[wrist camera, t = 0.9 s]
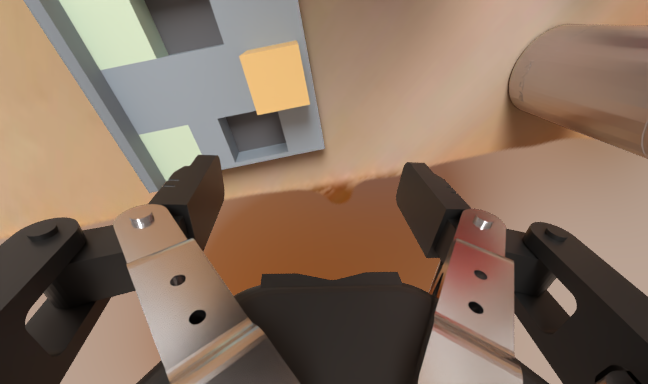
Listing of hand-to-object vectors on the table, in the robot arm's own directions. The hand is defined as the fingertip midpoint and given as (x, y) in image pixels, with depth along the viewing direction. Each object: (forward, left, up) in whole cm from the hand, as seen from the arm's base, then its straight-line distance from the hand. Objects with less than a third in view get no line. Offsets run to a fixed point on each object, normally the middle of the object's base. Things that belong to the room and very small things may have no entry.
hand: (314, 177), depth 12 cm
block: (+2, -2, -17) cm, 17 cm away
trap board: (+8, -2, -20) cm, 22 cm away
